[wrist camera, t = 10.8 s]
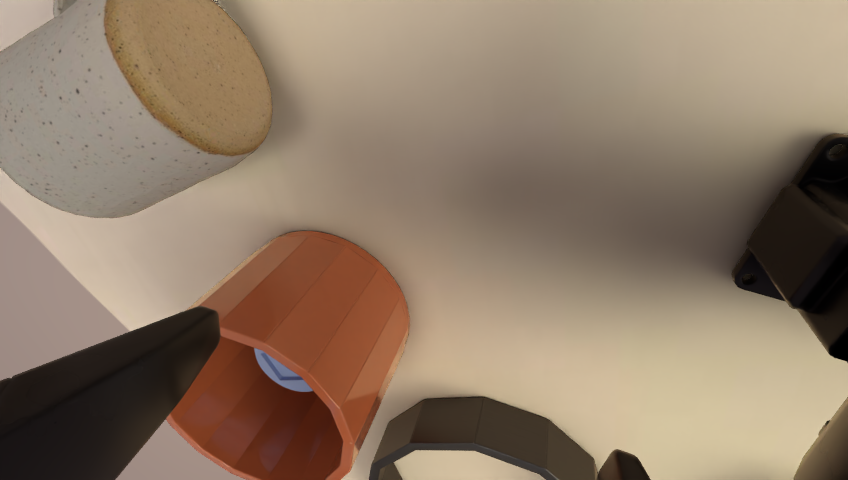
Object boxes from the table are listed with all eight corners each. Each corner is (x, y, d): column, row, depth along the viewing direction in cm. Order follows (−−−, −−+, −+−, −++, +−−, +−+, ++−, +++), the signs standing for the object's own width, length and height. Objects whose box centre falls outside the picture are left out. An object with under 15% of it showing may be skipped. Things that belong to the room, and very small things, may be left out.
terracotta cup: (424, 262, 23) (364, 377, 16) (396, 391, 28) (342, 519, 21) (248, 208, 24) (125, 293, 17) (254, 340, 29) (161, 445, 23)
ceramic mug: (311, 128, 21) (193, 188, 14) (195, 183, 24) (57, 251, 18) (175, -129, 17) (-64, -206, 11) (63, -22, 21) (-170, -31, 14)
